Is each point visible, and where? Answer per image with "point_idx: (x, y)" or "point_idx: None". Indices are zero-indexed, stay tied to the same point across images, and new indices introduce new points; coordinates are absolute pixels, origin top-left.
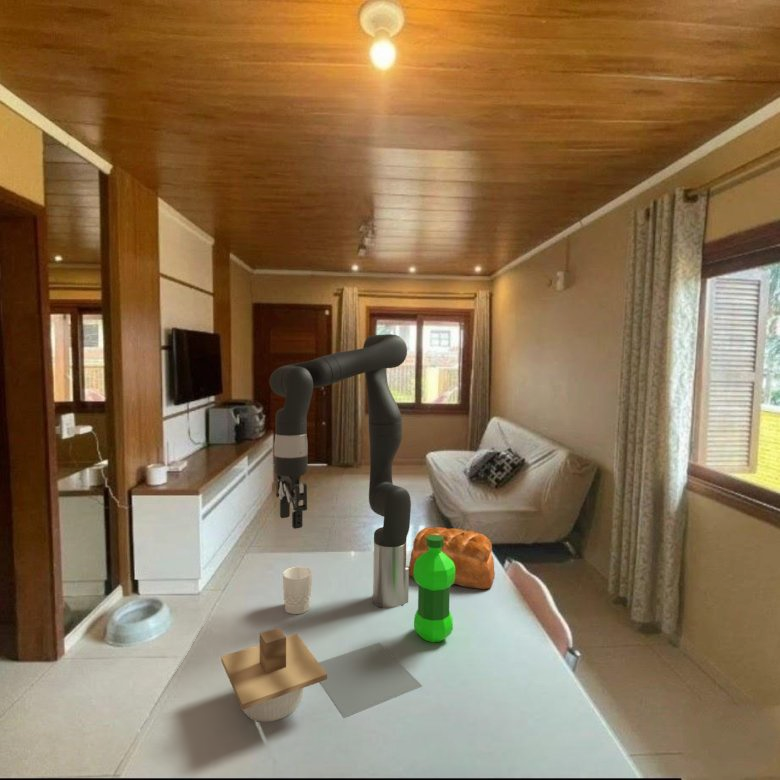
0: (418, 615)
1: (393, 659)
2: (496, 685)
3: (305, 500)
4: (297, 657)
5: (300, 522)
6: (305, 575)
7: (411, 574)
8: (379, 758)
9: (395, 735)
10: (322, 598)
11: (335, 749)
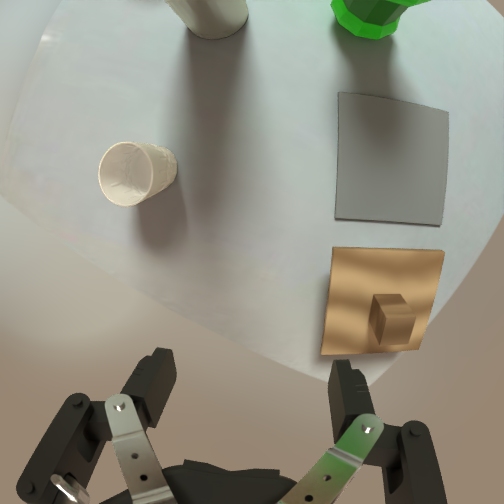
0: (367, 24)
1: (388, 102)
2: (471, 47)
3: (434, 469)
4: (391, 272)
5: (363, 385)
6: (119, 150)
7: None
8: (487, 220)
9: (479, 190)
10: (145, 116)
11: (459, 250)
